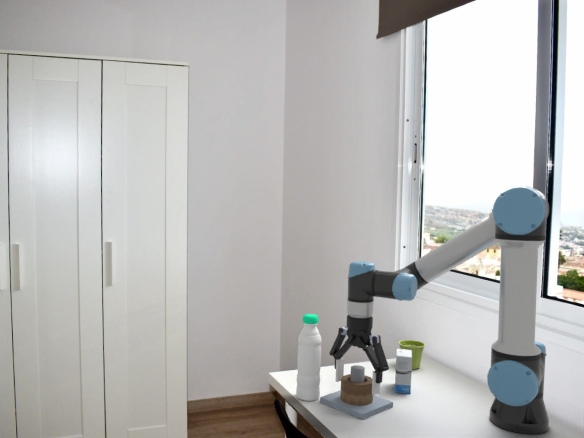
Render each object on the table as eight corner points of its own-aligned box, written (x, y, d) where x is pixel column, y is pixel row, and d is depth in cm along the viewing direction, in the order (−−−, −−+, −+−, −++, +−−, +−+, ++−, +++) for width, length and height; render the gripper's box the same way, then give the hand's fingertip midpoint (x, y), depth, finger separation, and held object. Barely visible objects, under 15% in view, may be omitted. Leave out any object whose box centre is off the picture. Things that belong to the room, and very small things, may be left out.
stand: (393, 406, 160) (394, 369, 159) (362, 419, 150) (364, 380, 150) (350, 391, 171) (352, 356, 171) (319, 402, 162) (321, 365, 161)
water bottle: (324, 397, 165) (327, 315, 164) (308, 403, 160) (311, 318, 159) (306, 391, 170) (309, 311, 169) (291, 397, 165) (294, 314, 164)
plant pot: (397, 370, 194) (398, 345, 194) (397, 362, 203) (398, 338, 203) (425, 372, 192) (426, 347, 192) (423, 364, 202) (424, 340, 201)
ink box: (410, 394, 171) (412, 357, 170) (394, 392, 172) (396, 355, 171) (410, 385, 179) (412, 349, 178) (395, 383, 180) (396, 348, 179)
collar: (378, 400, 161) (379, 380, 160) (358, 408, 154) (359, 387, 154) (354, 391, 167) (355, 372, 167) (334, 398, 161) (335, 378, 160)
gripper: (403, 321, 153) (400, 396, 154) (336, 306, 171) (333, 373, 172) (387, 325, 148) (384, 402, 149) (319, 309, 166) (317, 378, 167)
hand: (357, 387), depth 160 cm, fingers open, 13 cm apart
